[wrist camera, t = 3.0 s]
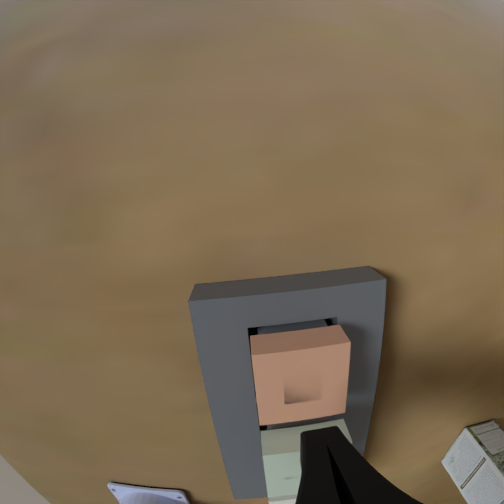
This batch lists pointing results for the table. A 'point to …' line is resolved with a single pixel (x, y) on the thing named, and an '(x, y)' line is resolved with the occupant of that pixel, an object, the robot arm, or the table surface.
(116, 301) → the table surface
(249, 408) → the keypad plate
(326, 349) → the terracotta key
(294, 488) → the sage key
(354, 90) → the table surface
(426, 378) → the table surface
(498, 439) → the syrup box
